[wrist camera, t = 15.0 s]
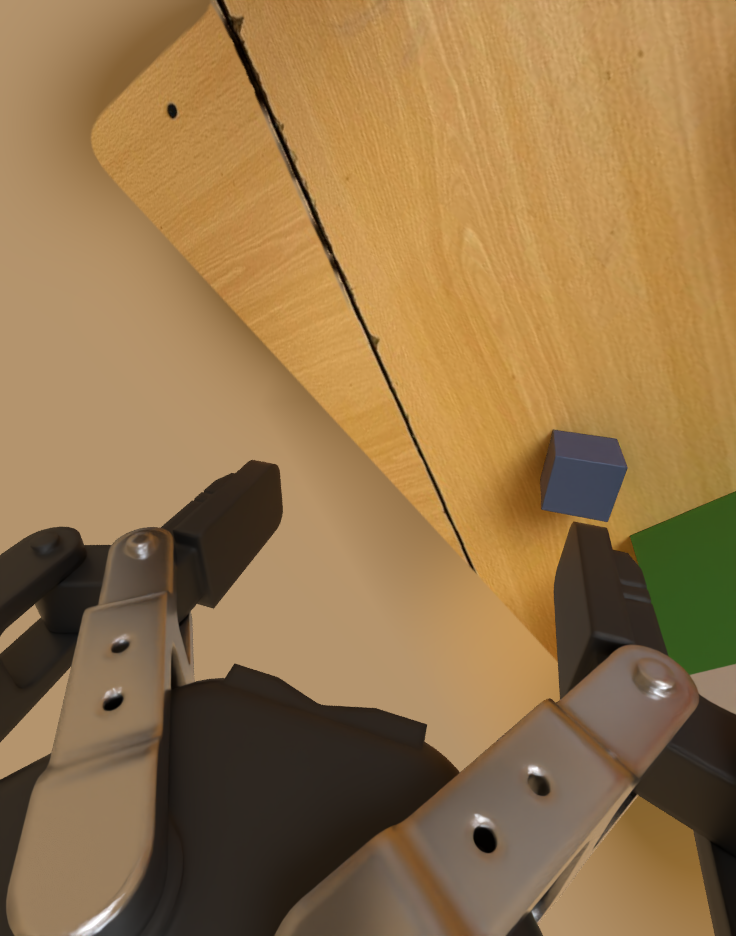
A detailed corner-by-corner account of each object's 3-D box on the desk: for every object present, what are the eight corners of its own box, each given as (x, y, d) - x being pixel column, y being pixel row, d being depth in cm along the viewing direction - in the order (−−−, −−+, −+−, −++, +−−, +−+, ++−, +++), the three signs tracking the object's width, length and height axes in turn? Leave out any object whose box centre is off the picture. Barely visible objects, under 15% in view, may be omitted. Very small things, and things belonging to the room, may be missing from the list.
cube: (552, 429, 38) (555, 455, 34) (617, 438, 37) (628, 467, 33) (540, 479, 41) (540, 509, 37) (599, 489, 40) (607, 522, 35)
